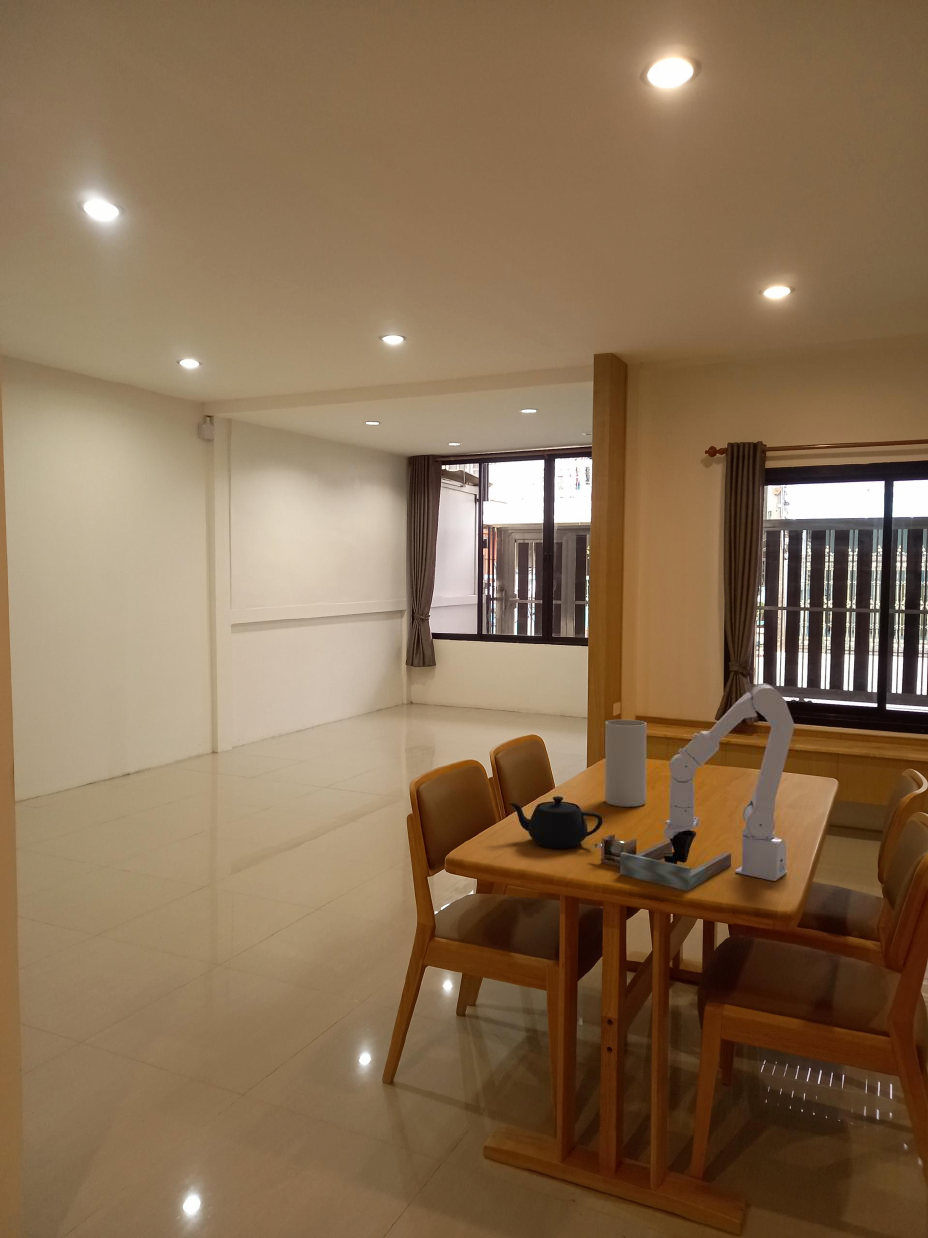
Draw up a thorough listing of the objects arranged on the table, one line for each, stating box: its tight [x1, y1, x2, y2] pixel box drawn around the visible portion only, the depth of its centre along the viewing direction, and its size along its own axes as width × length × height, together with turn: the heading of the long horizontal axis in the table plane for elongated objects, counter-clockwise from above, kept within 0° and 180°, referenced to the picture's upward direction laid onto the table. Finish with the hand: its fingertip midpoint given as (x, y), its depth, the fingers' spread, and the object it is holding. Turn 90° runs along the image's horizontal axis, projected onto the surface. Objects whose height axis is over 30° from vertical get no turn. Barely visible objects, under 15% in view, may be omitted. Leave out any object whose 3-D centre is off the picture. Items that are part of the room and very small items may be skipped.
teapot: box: [508, 795, 604, 850], centre depth 227 cm, size 25×16×12 cm, turn 74°
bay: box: [619, 839, 732, 892], centre depth 205 cm, size 17×23×5 cm
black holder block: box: [663, 851, 678, 865], centre depth 205 cm, size 12×7×5 cm, turn 169°
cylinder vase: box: [604, 719, 647, 808], centre depth 269 cm, size 12×12×25 cm
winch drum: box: [594, 833, 637, 868], centre depth 211 cm, size 9×5×6 cm, turn 50°
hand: (681, 861), depth 207 cm, fingers closed
